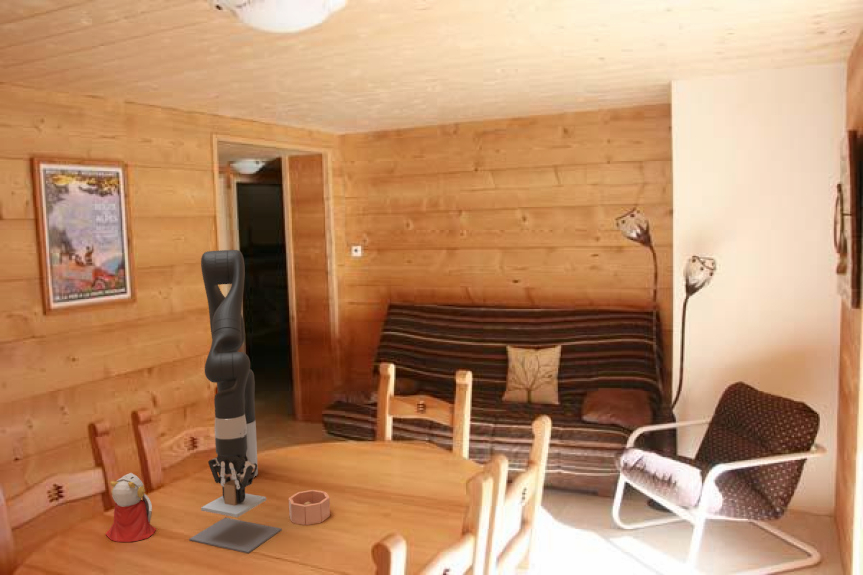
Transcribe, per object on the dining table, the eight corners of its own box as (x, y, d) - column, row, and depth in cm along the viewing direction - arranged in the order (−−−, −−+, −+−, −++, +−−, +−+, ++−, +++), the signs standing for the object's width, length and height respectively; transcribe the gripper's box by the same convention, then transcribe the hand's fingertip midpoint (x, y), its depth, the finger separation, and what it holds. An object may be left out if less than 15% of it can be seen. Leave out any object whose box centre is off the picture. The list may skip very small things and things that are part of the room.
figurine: (169, 526, 174) (166, 470, 173) (134, 546, 164) (130, 486, 162) (132, 518, 179) (129, 463, 178) (95, 537, 169) (91, 479, 168)
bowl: (282, 520, 176) (281, 502, 175) (304, 505, 185) (303, 488, 185) (315, 527, 172) (314, 508, 171) (336, 511, 181) (335, 493, 181)
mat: (189, 540, 166) (189, 538, 166) (225, 518, 178) (225, 517, 178) (248, 553, 159) (248, 551, 159) (281, 530, 171) (281, 528, 171)
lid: (201, 510, 165) (200, 487, 164) (231, 494, 175) (230, 472, 174) (237, 517, 160) (236, 493, 160) (266, 500, 170) (265, 477, 170)
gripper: (197, 434, 165) (201, 502, 167) (244, 440, 160) (247, 511, 161) (218, 426, 172) (222, 491, 174) (263, 431, 166) (266, 499, 168)
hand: (234, 500), depth 167 cm, fingers closed on lid, 3 cm apart
